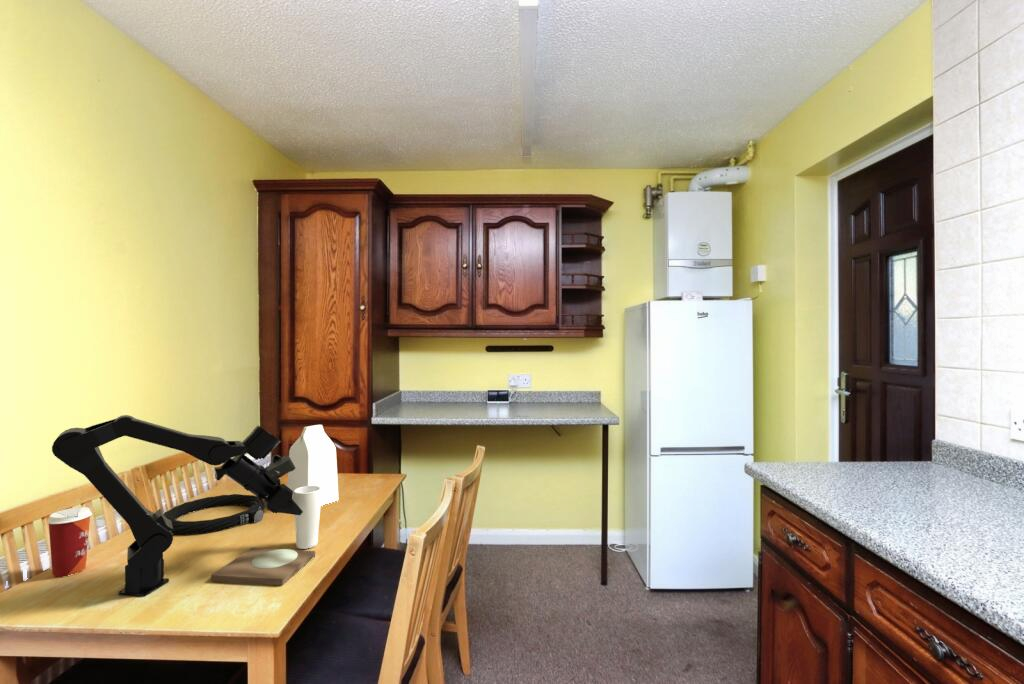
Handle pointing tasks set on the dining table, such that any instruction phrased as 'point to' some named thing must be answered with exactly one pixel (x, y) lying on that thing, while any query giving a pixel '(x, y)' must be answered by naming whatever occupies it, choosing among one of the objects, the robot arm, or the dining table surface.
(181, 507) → the cable lock
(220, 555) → the dining table surface
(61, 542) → the paper cup
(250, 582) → the walnut board
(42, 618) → the dining table surface
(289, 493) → the robot arm
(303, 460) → the milk
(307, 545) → the drinking glass
